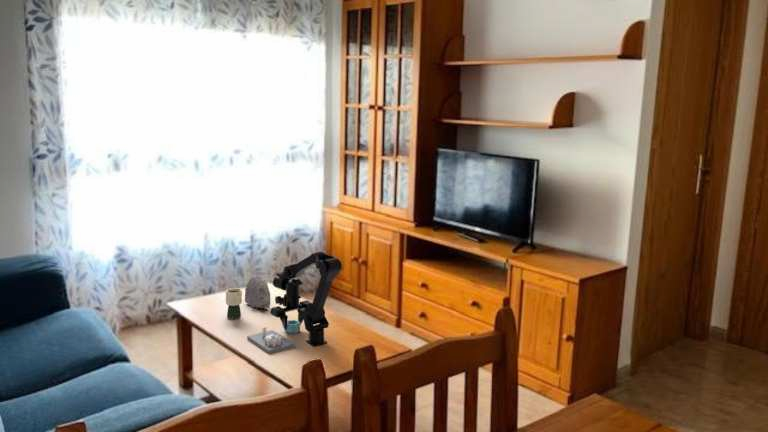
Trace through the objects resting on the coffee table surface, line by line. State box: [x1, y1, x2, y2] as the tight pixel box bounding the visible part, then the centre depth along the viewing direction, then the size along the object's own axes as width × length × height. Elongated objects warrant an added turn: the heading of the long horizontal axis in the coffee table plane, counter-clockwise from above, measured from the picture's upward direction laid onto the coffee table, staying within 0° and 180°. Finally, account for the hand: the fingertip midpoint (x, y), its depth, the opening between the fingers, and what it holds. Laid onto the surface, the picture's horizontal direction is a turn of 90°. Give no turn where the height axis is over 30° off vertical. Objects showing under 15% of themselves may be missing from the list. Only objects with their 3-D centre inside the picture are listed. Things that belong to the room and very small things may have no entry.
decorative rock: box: [244, 275, 271, 309], centre depth 310 cm, size 16×7×15 cm, turn 39°
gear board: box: [246, 326, 296, 355], centre depth 268 cm, size 18×12×6 cm, turn 40°
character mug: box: [225, 287, 243, 319], centre depth 294 cm, size 11×7×13 cm, turn 36°
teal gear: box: [283, 319, 301, 334], centre depth 282 cm, size 7×7×4 cm
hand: (292, 327), depth 282 cm, fingers closed on teal gear, 7 cm apart
